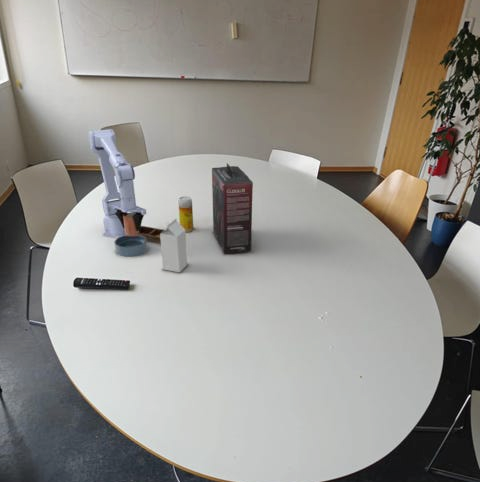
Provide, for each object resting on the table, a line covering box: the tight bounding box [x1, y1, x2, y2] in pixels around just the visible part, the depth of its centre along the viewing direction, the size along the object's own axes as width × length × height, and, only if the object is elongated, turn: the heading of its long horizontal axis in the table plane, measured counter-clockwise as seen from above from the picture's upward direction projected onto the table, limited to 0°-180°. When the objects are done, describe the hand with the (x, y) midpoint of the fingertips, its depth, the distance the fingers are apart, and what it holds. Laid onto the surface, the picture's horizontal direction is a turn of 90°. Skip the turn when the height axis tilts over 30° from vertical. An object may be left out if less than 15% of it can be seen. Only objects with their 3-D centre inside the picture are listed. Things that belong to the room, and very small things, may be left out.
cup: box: [123, 212, 140, 236], centre depth 176 cm, size 6×6×8 cm
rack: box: [139, 225, 165, 245], centre depth 191 cm, size 16×8×4 cm, turn 69°
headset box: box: [211, 163, 254, 254], centre depth 182 cm, size 25×12×33 cm, turn 14°
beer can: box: [178, 196, 194, 233], centre depth 197 cm, size 6×6×15 cm
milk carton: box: [160, 218, 188, 273], centre depth 165 cm, size 7×7×19 cm
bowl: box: [114, 235, 149, 258], centre depth 180 cm, size 13×13×4 cm
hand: (131, 228), depth 177 cm, fingers closed on cup, 6 cm apart
